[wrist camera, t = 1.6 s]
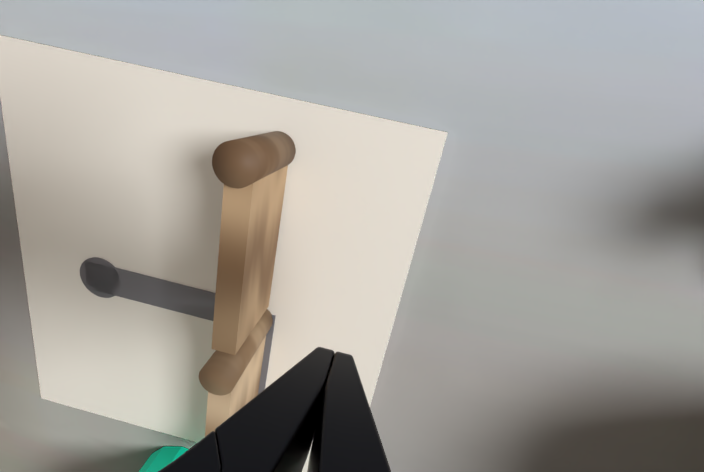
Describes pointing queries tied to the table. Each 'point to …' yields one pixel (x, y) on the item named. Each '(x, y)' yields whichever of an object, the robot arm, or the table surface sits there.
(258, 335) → the fence fixed
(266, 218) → the fence gate
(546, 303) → the table surface
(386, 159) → the board
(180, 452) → the candle
